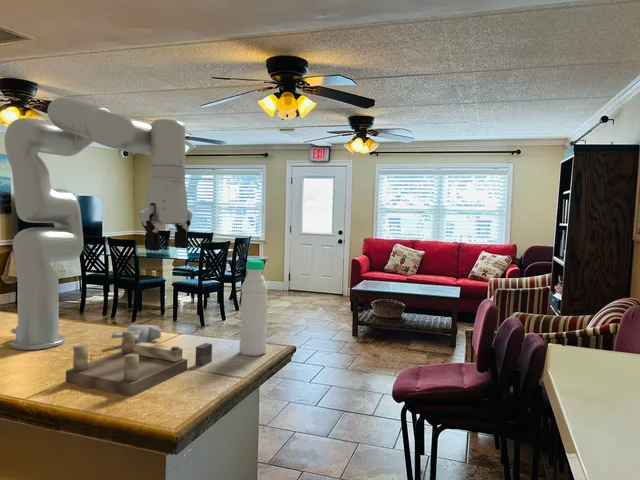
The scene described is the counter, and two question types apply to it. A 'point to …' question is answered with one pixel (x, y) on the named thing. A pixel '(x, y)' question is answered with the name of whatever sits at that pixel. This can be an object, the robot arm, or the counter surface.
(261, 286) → the water bottle
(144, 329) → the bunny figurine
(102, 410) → the counter surface
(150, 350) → the hinged leg
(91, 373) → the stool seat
